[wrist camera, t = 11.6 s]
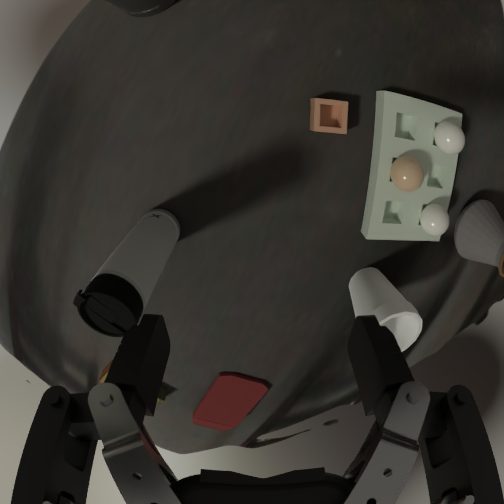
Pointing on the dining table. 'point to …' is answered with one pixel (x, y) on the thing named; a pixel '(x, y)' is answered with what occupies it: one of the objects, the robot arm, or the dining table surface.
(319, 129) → the egg cup
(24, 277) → the dining table surface
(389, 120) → the egg tray
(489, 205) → the coffee pot
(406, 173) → the brown egg
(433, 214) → the white egg
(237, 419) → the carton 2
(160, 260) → the travel mug
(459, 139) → the white egg
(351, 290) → the foam cup
